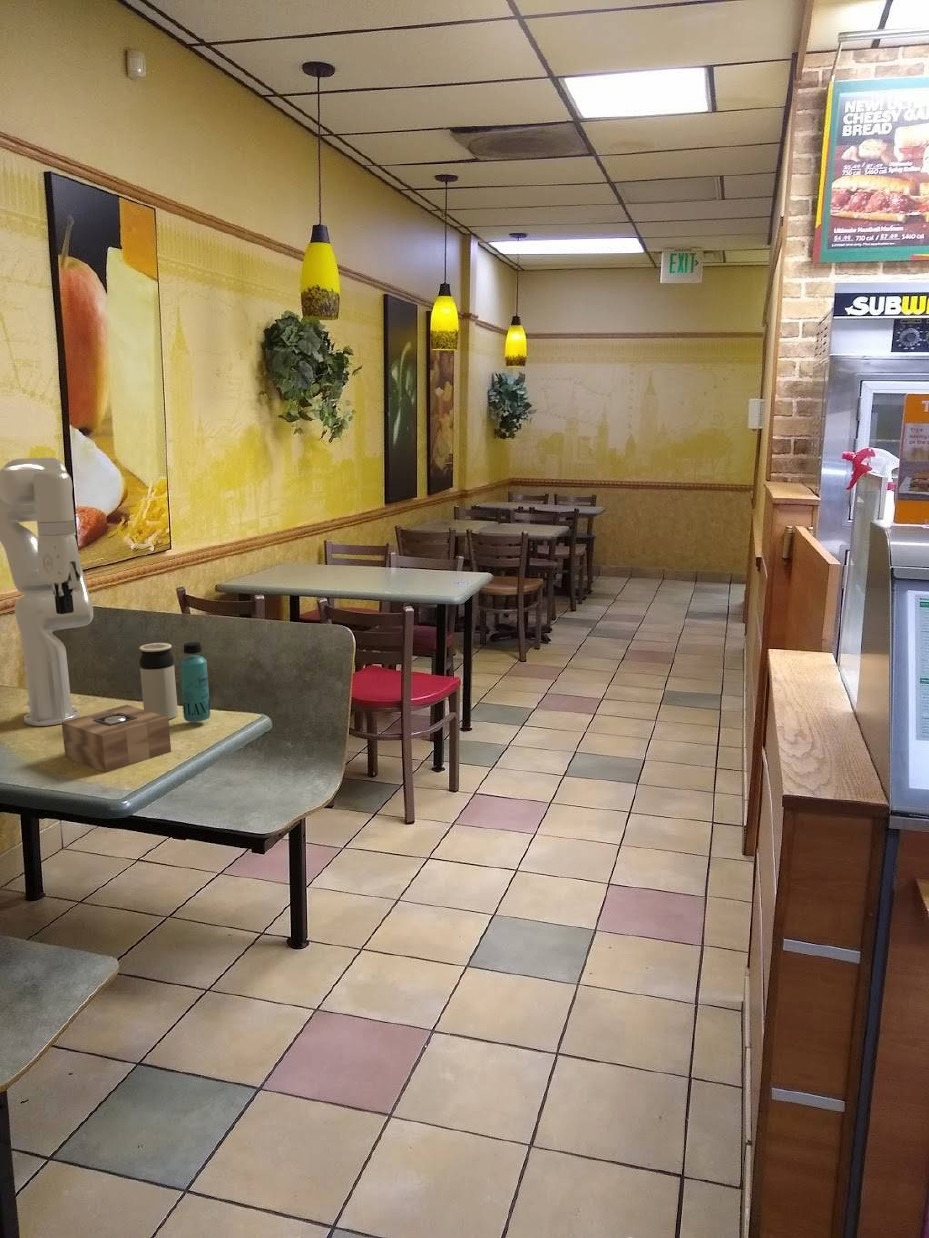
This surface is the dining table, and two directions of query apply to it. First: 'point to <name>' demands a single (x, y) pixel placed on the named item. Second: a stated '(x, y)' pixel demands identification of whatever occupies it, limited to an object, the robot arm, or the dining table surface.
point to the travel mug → (158, 679)
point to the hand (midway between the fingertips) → (65, 612)
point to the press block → (116, 738)
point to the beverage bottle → (194, 684)
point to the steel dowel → (115, 719)
